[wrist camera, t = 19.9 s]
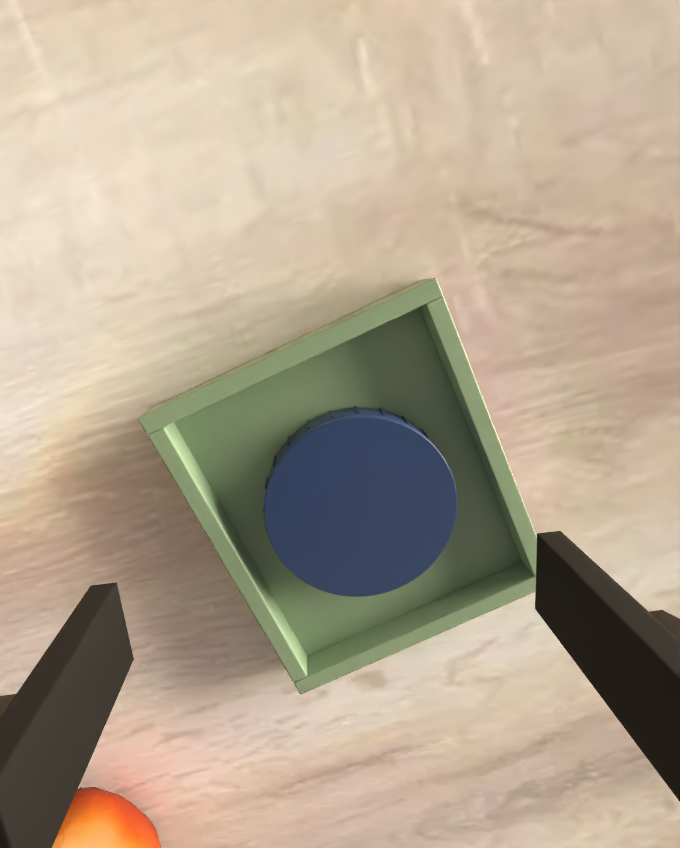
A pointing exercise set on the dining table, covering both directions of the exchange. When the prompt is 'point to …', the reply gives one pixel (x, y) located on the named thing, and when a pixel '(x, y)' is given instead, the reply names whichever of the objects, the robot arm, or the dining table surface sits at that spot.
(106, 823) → the fruit
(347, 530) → the lid
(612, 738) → the dining table surface
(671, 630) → the robot arm
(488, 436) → the tray
